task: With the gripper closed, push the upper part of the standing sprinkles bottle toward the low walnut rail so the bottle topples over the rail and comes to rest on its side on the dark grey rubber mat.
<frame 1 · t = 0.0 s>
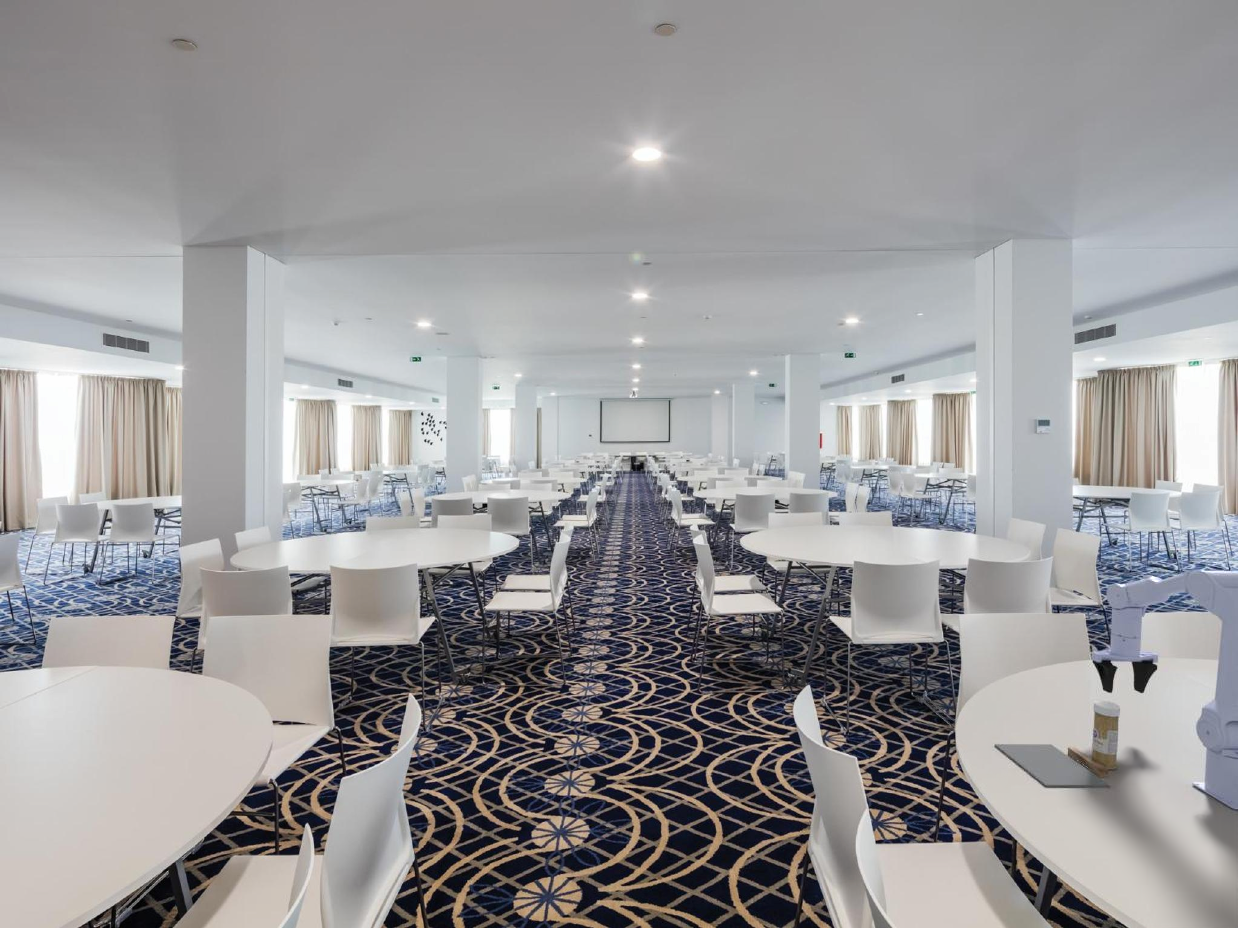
hand: (1123, 691, 162), 10 cm above the table, tool pointing down, fingers open, 7 cm apart
sprinkles bottle: (1103, 766, 146), on the table
rubber mat: (1048, 765, 146), on the table
walnut rail: (1086, 765, 146), on the table
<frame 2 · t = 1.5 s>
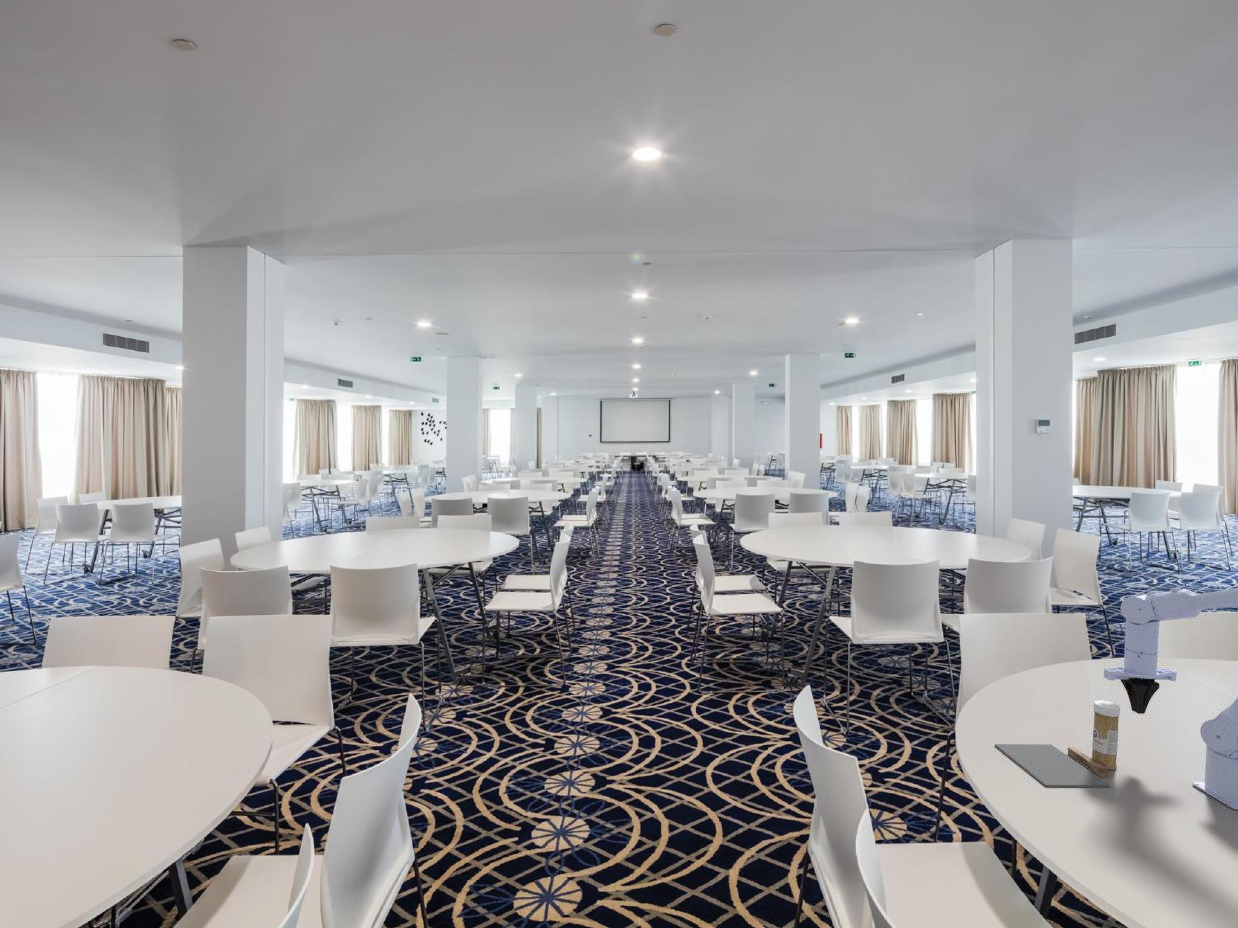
hand: (1138, 711, 150), 10 cm above the table, tool pointing down, fingers closed
nothing on the table moved.
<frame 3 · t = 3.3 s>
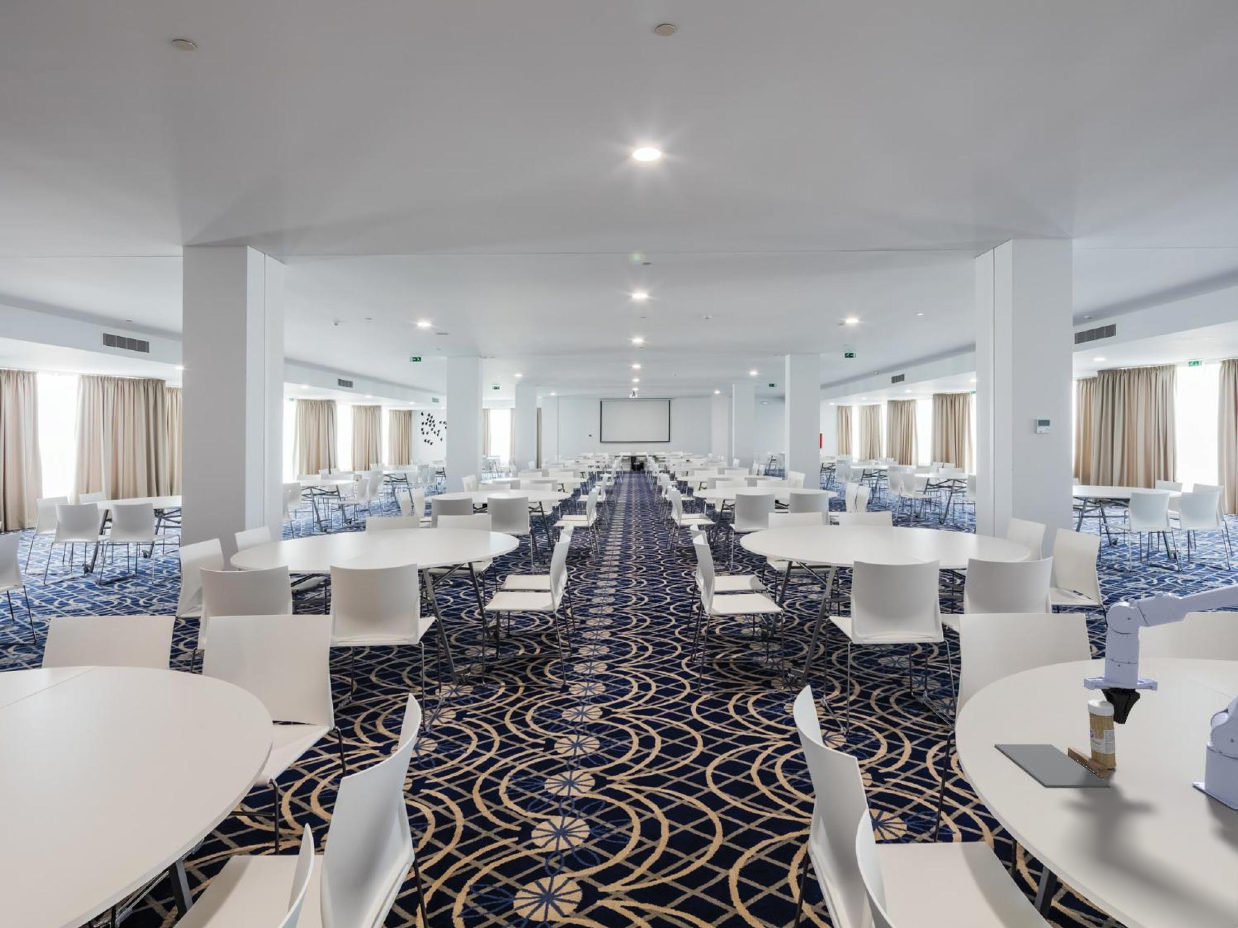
hand: (1118, 722, 146), 9 cm above the table, tool pointing down, fingers closed
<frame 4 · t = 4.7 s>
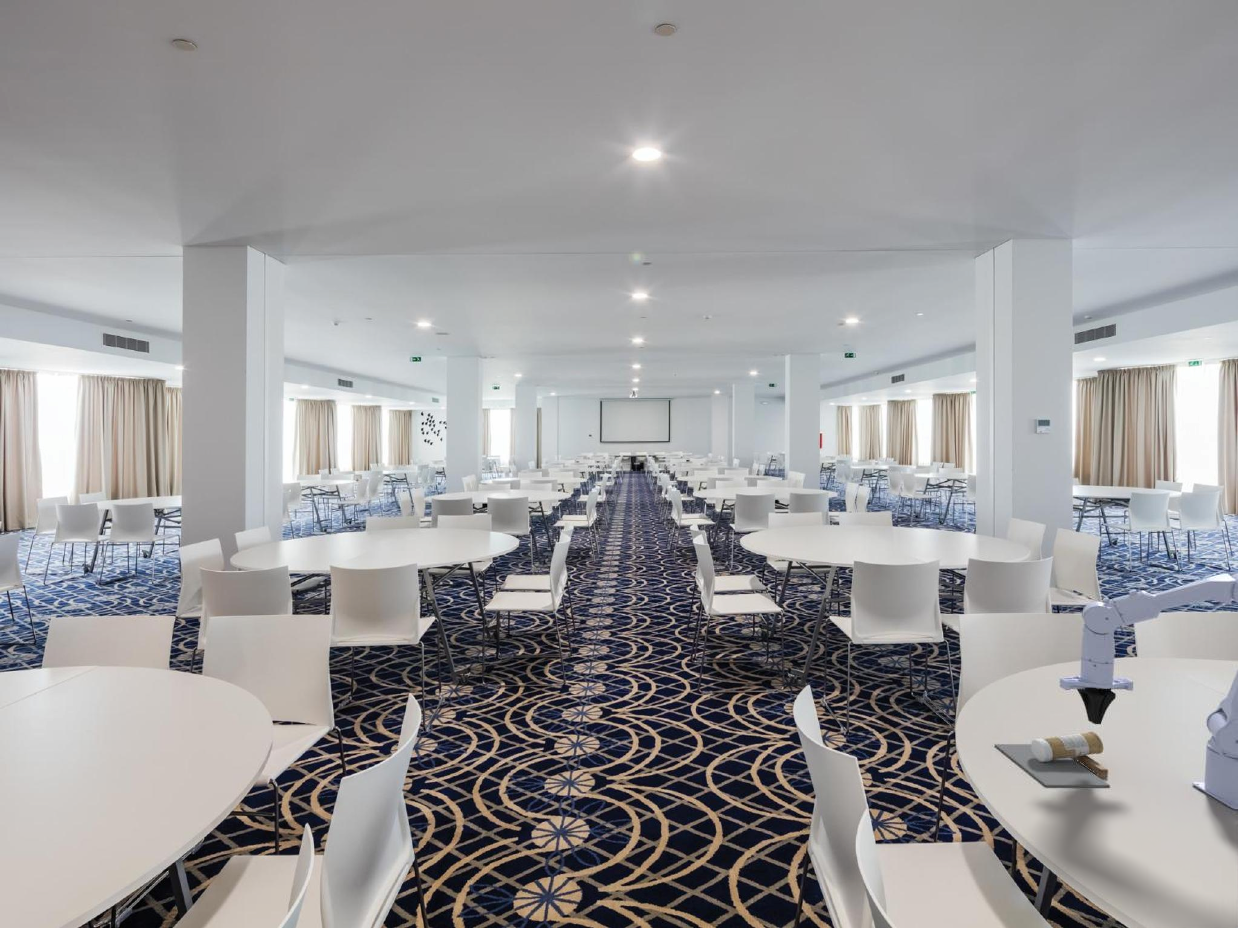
hand: (1094, 722, 146), 9 cm above the table, tool pointing down, fingers closed
sprinkles bottle: (1097, 741, 148), point 4 cm above the table, touching rubber mat, walnut rail
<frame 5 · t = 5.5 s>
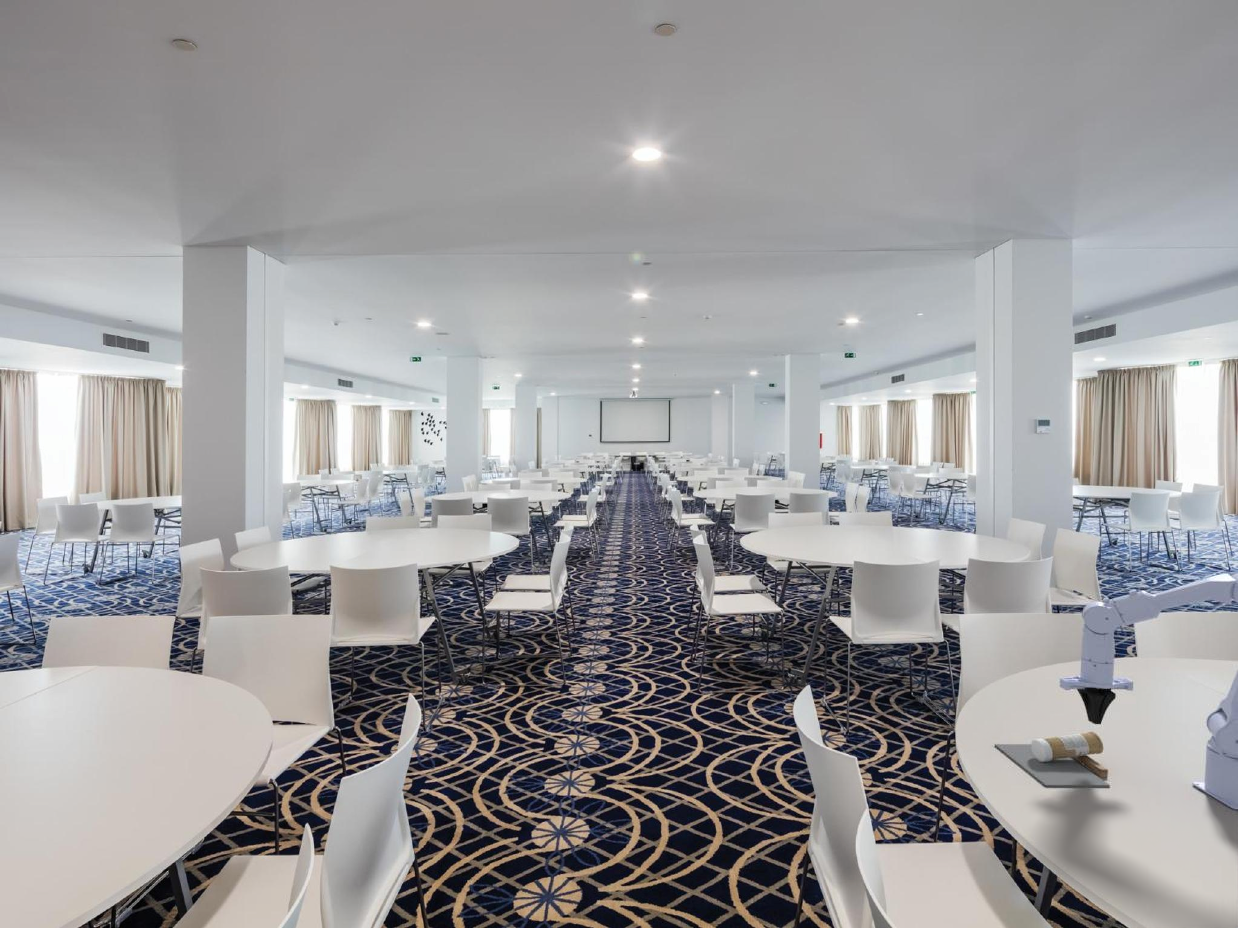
hand: (1094, 722, 146), 9 cm above the table, tool pointing down, fingers closed
nothing on the table moved.
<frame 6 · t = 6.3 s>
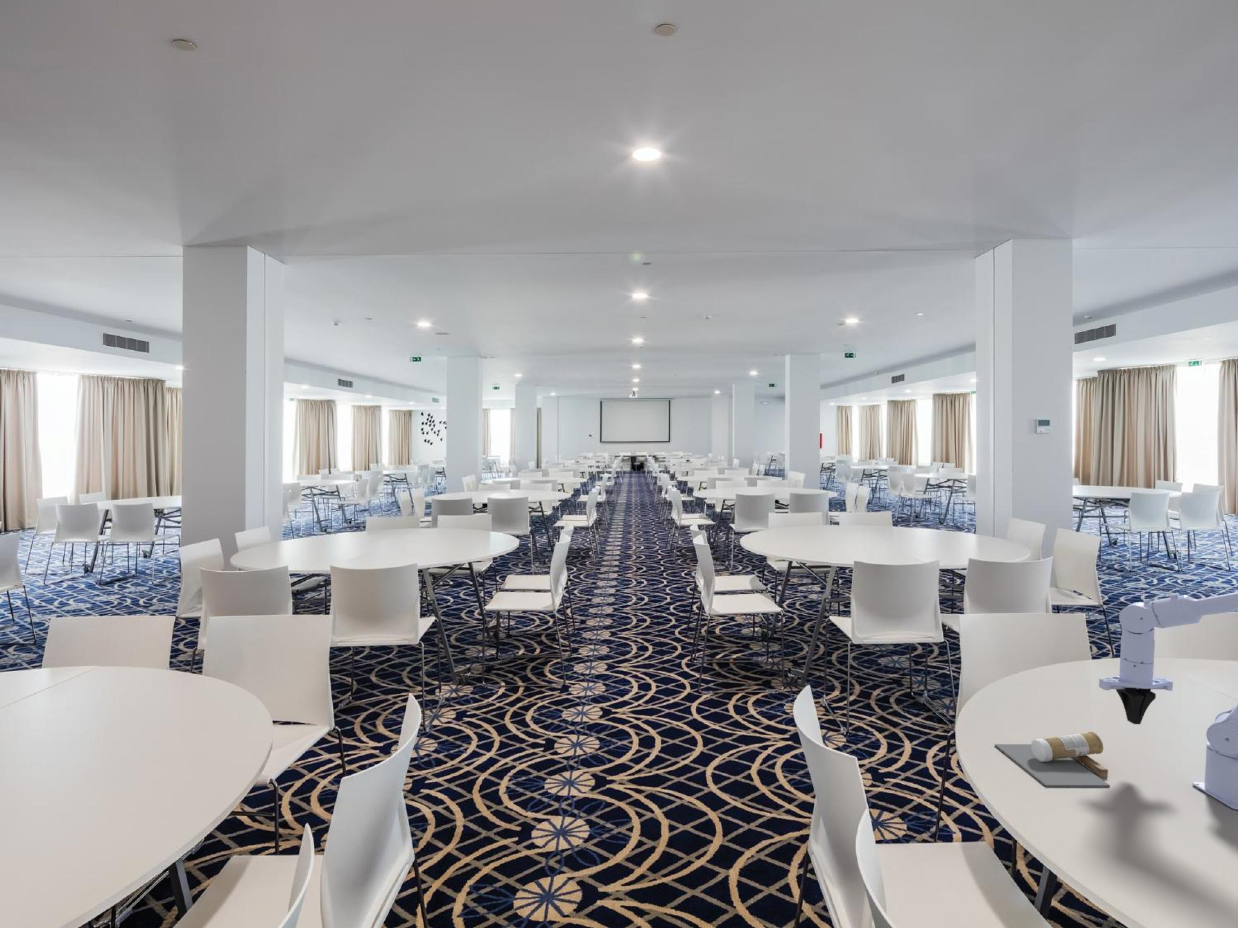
hand: (1133, 722, 146), 9 cm above the table, tool pointing down, fingers closed
nothing on the table moved.
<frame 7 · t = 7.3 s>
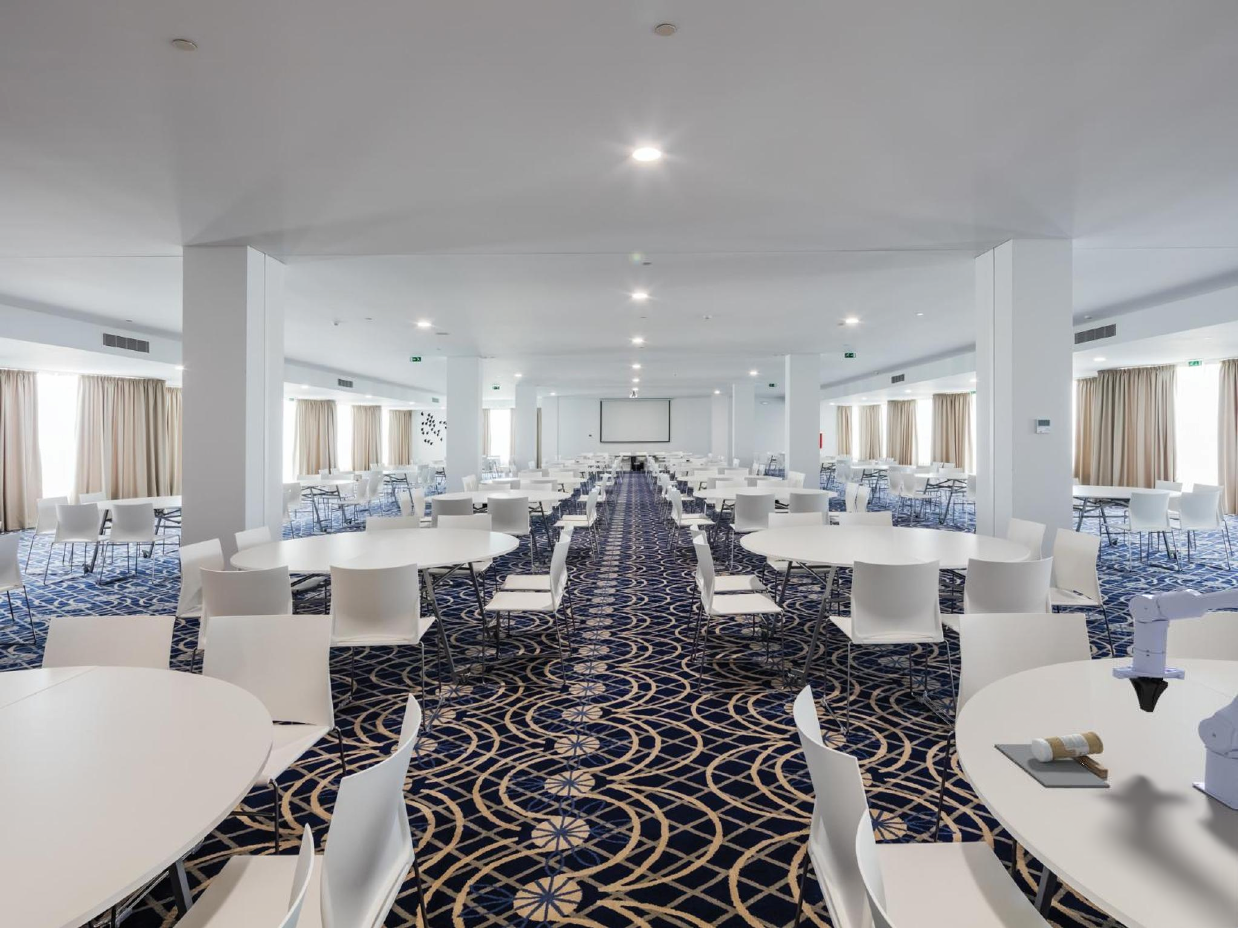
hand: (1146, 710, 150), 10 cm above the table, tool pointing down, fingers closed
nothing on the table moved.
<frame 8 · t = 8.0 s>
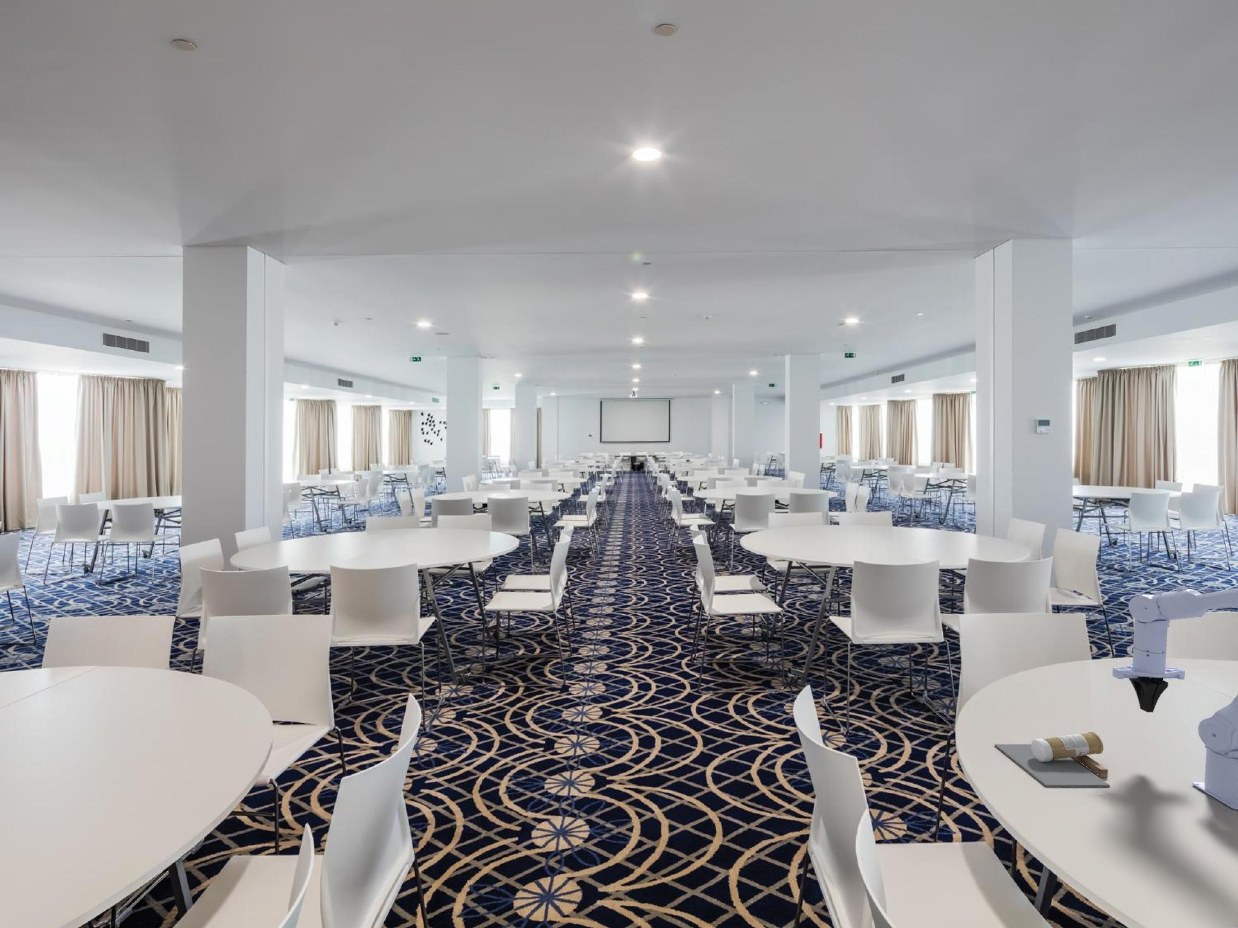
hand: (1146, 710, 150), 10 cm above the table, tool pointing down, fingers closed
nothing on the table moved.
at the end: sprinkles bottle tilted 97°; sprinkles bottle inside the target area (7.4 cm from its centre), point 4.3 cm above the table; the gripper is holding nothing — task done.
